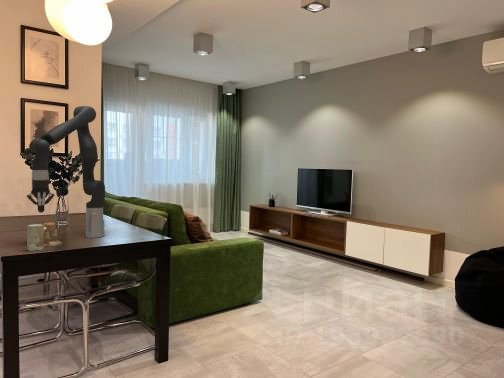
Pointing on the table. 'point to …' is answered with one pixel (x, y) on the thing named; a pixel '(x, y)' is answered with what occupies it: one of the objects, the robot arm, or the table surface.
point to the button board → (50, 238)
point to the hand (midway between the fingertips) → (41, 212)
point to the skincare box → (35, 237)
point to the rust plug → (49, 226)
